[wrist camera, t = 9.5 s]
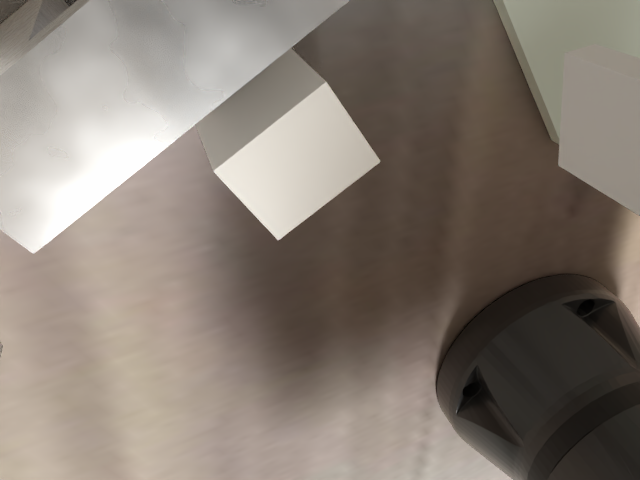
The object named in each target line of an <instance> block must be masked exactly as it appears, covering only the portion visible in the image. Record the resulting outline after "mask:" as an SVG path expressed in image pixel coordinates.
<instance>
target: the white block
mask: <svg viewBox="0 0 640 480" xmlns="http://www.w3.org/2000/svg"><path fill="white" fill-rule="evenodd" d="M195 126H196V128H197V131H198V133H199V136H200V139H201V141H202V144H203V146H204V149H205V152H206V154H207V157H208V159H209V162H210V164H211V167H212V170H213V172H214V173H215V174H216V175H217V176H218V177H219V178H220V179H221V180H222V181H223V182H224V183H225V184H226V185H227V187H228V188H229V189H230V190H231V191H232V192H233V193H234V194H235V195H236V196H237V197H238V198H239V199H240V200H241V201H242V203H243V204H244V205H245V206H246V207H247V208H248V209H249V210H250V211H251V212H252V213H253V214H254V215H255V216H256V217H257V219H258V220H259V221H260V222H261V223H262V224H263V225H264V226H265V227H266V228H267V229H268V230H269V231H270V232H271V233H272V235H273V236H274V237H275V238H276V239H277V240H280V239H281V238H282V237H284V236H285V235H286V234H287V233H289V232H290V231H291V230H293V229H294V228H295V227H296V226H298V225H299V224H300V223H302V222H303V221H304V220H306V219H307V218H308V217H309V216H311V215H312V214H313V213H315V212H316V211H317V210H319V209H320V208H321V207H322V206H324V205H325V204H326V203H328V202H329V201H330V200H332V199H333V198H334V197H335V196H337V195H338V194H339V193H341V192H342V191H343V190H345V189H346V188H347V187H348V186H350V185H351V184H352V183H354V182H355V181H356V180H358V179H359V178H360V177H361V176H363V175H364V174H365V173H367V172H368V171H369V170H371V169H372V168H373V167H374V166H376V165H377V164H378V163H380V162H381V161H380V160H379V158H378V157H377V155H376V154H375V152H374V151H373V150H372V148H371V147H370V145H369V144H368V142H367V141H366V139H365V138H364V136H363V135H362V133H361V132H360V130H359V129H358V127H357V126H356V125H355V123H354V122H353V120H352V119H351V117H350V116H349V114H348V113H347V111H346V110H345V108H344V107H343V105H342V104H341V102H340V101H339V100H338V98H337V97H336V95H335V94H334V92H333V91H332V89H331V88H330V86H329V85H328V83H327V82H326V81H325V80H324V79H323V78H322V77H321V76H320V75H319V74H318V73H317V72H316V71H315V70H314V69H313V68H311V67H310V66H309V65H308V64H307V63H306V62H305V61H304V60H303V59H302V58H301V57H300V56H299V55H298V54H297V53H296V52H295V51H294V50H293V49H291V48H290V49H289V50H288V51H286V52H285V53H284V54H283V55H281V56H280V57H279V58H278V59H276V60H275V61H274V62H273V63H271V64H270V65H269V66H268V67H266V68H265V69H264V70H263V71H261V72H260V73H259V74H258V75H256V76H255V77H254V78H253V79H251V80H250V81H249V82H248V83H246V84H245V85H244V86H243V87H241V88H240V89H239V90H238V91H236V92H235V93H234V94H233V95H231V96H230V97H229V98H228V99H226V100H225V101H224V102H223V103H221V104H220V105H219V106H218V107H216V108H215V109H214V110H213V111H211V112H210V113H209V114H208V115H206V116H205V117H204V118H203V119H201V120H200V121H199V122H198V123H196V124H195Z"/></svg>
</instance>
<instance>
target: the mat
mask: <svg viewBox="0 0 640 480" xmlns="http://www.w3.org/2000/svg"><path fill="white" fill-rule="evenodd" d="M493 1H494V4H495V6H496V8H497V11H498V13H499V16H500V18H501V20H502V23H503V25H504V28H505V30H506V32H507V35H508V37H509V40H510V42H511V44H512V47H513V49H514V52H515V54H516V56H517V59H518V61H519V64H520V66H521V68H522V71H523V73H524V75H525V78H526V80H527V83H528V85H529V87H530V90H531V92H532V95H533V97H534V99H535V102H536V104H537V107H538V109H539V111H540V114H541V116H542V119H543V121H544V123H545V126H546V128H547V131H548V133H549V135H550V138H551V140H552V141H554V142H556V143H557V144H559V142H560V124H561V107H562V90H563V72H564V55H565V53H566V52H569V51H572V50H576V49H579V48H583V47H586V46H590V45H593V44H597V45H600V46H603V47H606V48H609V49H612V50H616V51H619V52H622V53H625V54H628V55H631V56H634V57H637V58H640V0H493Z"/></svg>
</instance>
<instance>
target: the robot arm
mask: <svg viewBox="0 0 640 480" xmlns="http://www.w3.org/2000/svg"><path fill="white" fill-rule="evenodd" d="M558 166H560V167H561V168H563V169H565V170H566V171H568V172H569V173H571V174H573V175H574V176H576V177H578V178H579V179H581V180H582V181H584V182H586V183H587V184H589V185H591V186H592V187H594V188H595V189H597V190H599V191H600V192H602V193H603V194H605V195H607V196H608V197H610V198H612V199H613V200H615V201H616V202H618V203H620V204H621V205H623V206H624V207H626V208H628V209H629V210H631V211H633V212H634V213H636V214H637V215H639V216H640V58H637V57H634V56H631V55H628V54H625V53H622V52H619V51H616V50H612V49H609V48H606V47H603V46H600V45H597V44H593V45H590V46H586V47H583V48H579V49H576V50H572V51H569V52H566V53H565V55H564V72H563V90H562V107H561V124H560V142H559V159H558ZM2 348H3V345H2V344H1V342H0V357H1V353H2ZM437 397H438V402H439V405H440V407H441V409H442V411H443V412H444V414H445V416H446V417H447V419H448V420H449V422H450V423H451V425H452V427H453V428H454V430H455V431H456V432H457V434H458V435H459V436H460V437H461V438H462V439H463V440H464V441H465V442H466V443H468V444H469V445H470V446H471V447H473V448H474V449H475V450H476V451H478V452H479V453H480V454H481V455H483V456H484V457H485V458H486V459H488V460H489V461H490V462H492V463H493V464H494V465H495V466H497V467H498V468H499V469H500V470H502V471H503V472H504V473H505V474H507V475H508V476H509V477H510V478H512V479H513V480H640V328H639V326H638V324H637V322H636V321H635V319H634V317H633V315H632V314H631V312H630V311H629V309H628V308H627V307H626V306H625V304H624V303H623V302H622V301H621V300H620V299H618V298H617V297H616V296H615V295H614V294H612V293H611V292H610V291H609V290H608V289H606V288H605V287H604V286H603V285H602V284H600V283H599V282H597V281H596V280H594V279H591V278H589V277H585V276H581V275H556V276H550V277H546V278H542V279H539V280H536V281H533V282H530V283H528V284H525V285H523V286H521V287H519V288H517V289H515V290H513V291H511V292H509V293H507V294H506V295H504V296H502V297H501V298H499V299H498V300H496V301H495V302H493V303H492V304H491V305H489V306H488V307H487V308H486V309H484V310H483V311H482V312H481V313H480V314H479V315H477V316H476V317H475V318H474V319H473V320H472V321H471V322H470V323H469V324H468V325H467V327H466V328H465V329H464V330H463V331H462V332H461V334H460V335H459V336H458V337H457V339H456V340H455V342H454V343H453V345H452V346H451V348H450V349H449V351H448V353H447V355H446V357H445V359H444V361H443V364H442V366H441V369H440V372H439V376H438V382H437Z"/></svg>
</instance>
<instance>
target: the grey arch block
mask: <svg viewBox="0 0 640 480" xmlns="http://www.w3.org/2000/svg"><path fill="white" fill-rule="evenodd" d="M349 1H350V0H77V1H76V2H74V3H73V4H72V5H71V6H69V5H68V4H67V3H66V2H65V1H64V0H29V1H27V2H26V3H25V4H24V5H23V6H21V7H20V8H19V9H18V10H17V11H16V12H14V13H13V14H12V15H11V16H10V17H8V18H7V19H6V20H5V21H4V22H3V23H1V24H0V230H1V231H3V232H4V233H5V234H7V235H8V236H9V237H11V238H12V239H14V240H15V241H16V242H18V243H19V244H20V245H22V246H23V247H25V248H26V249H27V250H29V251H30V252H31V253H33V254H34V253H36V252H37V251H38V250H39V249H41V248H42V247H43V246H44V245H46V244H47V243H48V242H49V241H50V240H52V239H53V238H54V237H55V236H57V235H58V234H59V233H60V232H62V231H63V230H64V229H65V228H67V227H68V226H69V225H70V224H72V223H73V222H74V221H75V220H77V219H78V218H79V217H80V216H82V215H83V214H84V213H85V212H87V211H88V210H89V209H90V208H92V207H93V206H94V205H95V204H97V203H98V202H99V201H100V200H102V199H103V198H104V197H105V196H107V195H108V194H109V193H110V192H112V191H113V190H114V189H115V188H117V187H118V186H119V185H120V184H122V183H123V182H124V181H125V180H127V179H128V178H129V177H130V176H132V175H133V174H134V173H135V172H137V171H138V170H139V169H140V168H142V167H143V166H144V165H145V164H147V163H148V162H149V161H150V160H152V159H153V158H154V157H155V156H157V155H158V154H159V153H160V152H162V151H163V150H164V149H165V148H167V147H168V146H169V145H170V144H172V143H173V142H174V141H175V140H177V139H178V138H179V137H180V136H182V135H183V134H184V133H185V132H187V131H188V130H189V129H190V128H191V127H193V126H194V125H195V124H196V123H198V122H199V121H200V120H201V119H203V118H204V117H205V116H206V115H208V114H209V113H210V112H211V111H213V110H214V109H215V108H216V107H218V106H219V105H220V104H221V103H223V102H224V101H225V100H226V99H228V98H229V97H230V96H231V95H233V94H234V93H235V92H236V91H238V90H239V89H240V88H241V87H243V86H244V85H245V84H246V83H248V82H249V81H250V80H251V79H253V78H254V77H255V76H256V75H258V74H259V73H260V72H261V71H263V70H264V69H265V68H266V67H268V66H269V65H270V64H271V63H273V62H274V61H275V60H276V59H278V58H279V57H280V56H281V55H283V54H284V53H285V52H286V51H288V50H289V49H290V48H291V47H293V46H294V45H295V44H296V43H298V42H299V41H300V40H301V39H303V38H304V37H305V36H306V35H308V34H309V33H310V32H311V31H313V30H314V29H315V28H316V27H318V26H319V25H320V24H321V23H323V22H324V21H325V20H326V19H328V18H329V17H330V16H331V15H333V14H334V13H335V12H336V11H337V10H339V9H340V8H341V7H342V6H344V5H345V4H346V3H347V2H349Z"/></svg>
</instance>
